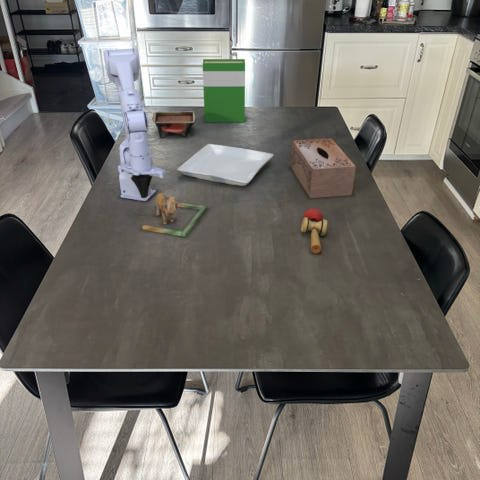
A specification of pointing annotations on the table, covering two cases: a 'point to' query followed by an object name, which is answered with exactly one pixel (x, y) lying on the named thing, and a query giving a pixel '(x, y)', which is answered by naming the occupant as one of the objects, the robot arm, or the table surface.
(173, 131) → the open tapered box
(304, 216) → the kendama
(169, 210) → the lion figurine
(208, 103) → the hardback book
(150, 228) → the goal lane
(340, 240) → the table surface
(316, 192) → the tissue box cover
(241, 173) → the square plate
